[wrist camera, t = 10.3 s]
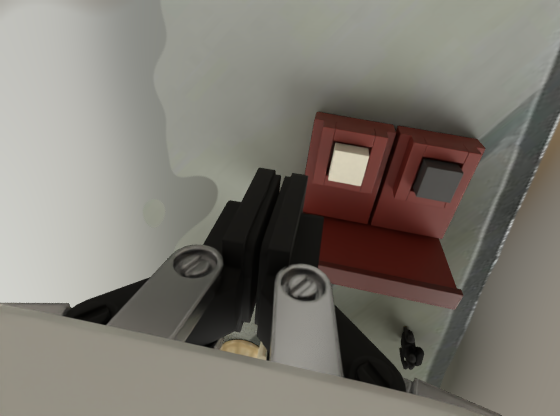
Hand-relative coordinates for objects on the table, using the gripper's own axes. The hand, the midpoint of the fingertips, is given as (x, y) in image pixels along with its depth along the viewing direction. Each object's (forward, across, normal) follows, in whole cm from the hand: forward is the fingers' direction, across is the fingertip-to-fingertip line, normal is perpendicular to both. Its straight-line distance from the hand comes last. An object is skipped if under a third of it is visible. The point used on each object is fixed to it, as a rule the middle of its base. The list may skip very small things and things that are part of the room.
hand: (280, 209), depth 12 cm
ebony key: (+22, -12, +8) cm, 26 cm away
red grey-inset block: (+26, -12, +10) cm, 30 cm away
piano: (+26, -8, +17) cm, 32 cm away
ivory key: (+22, -4, +8) cm, 23 cm away
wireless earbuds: (+25, -18, +35) cm, 47 cm away
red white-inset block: (+26, -4, +10) cm, 28 cm away
